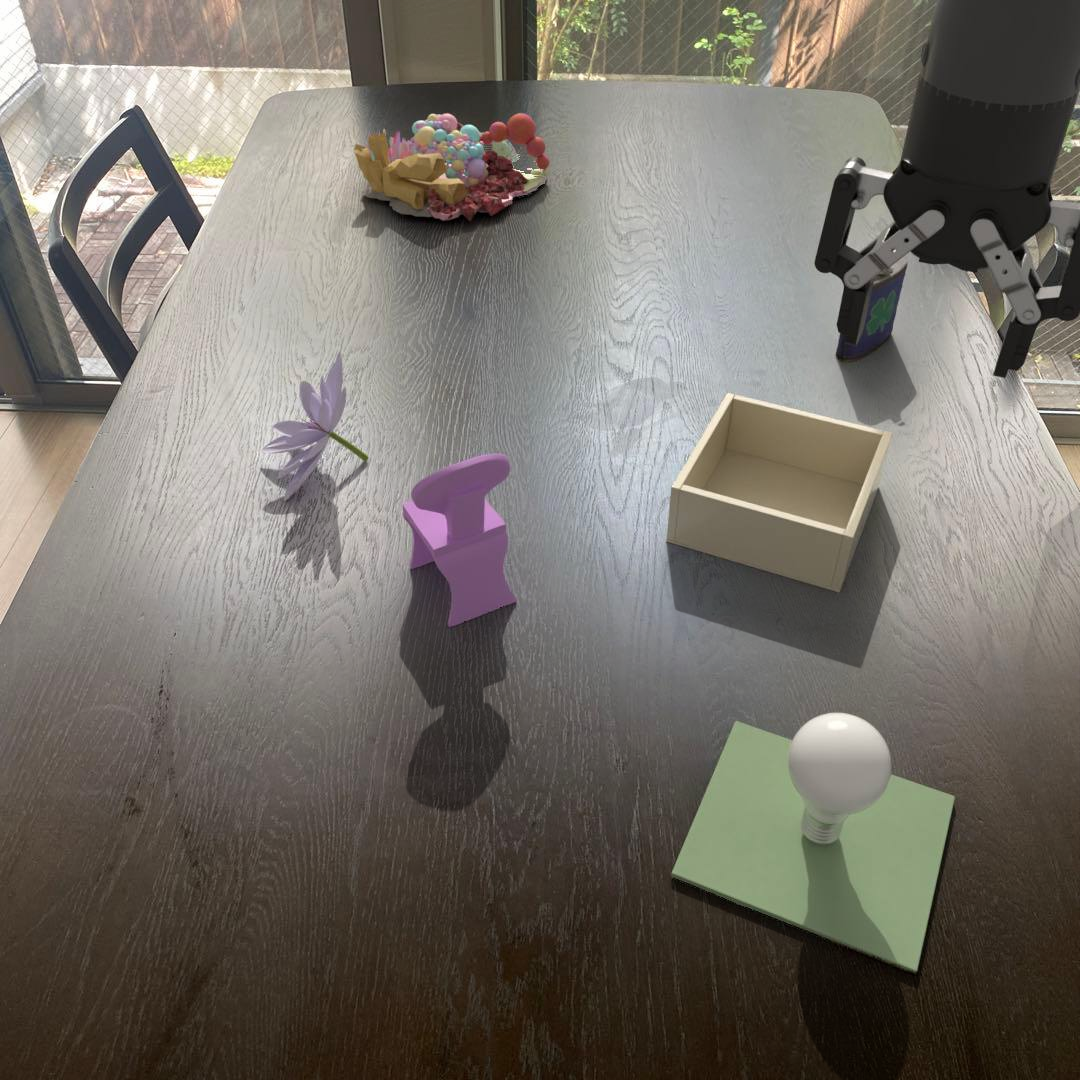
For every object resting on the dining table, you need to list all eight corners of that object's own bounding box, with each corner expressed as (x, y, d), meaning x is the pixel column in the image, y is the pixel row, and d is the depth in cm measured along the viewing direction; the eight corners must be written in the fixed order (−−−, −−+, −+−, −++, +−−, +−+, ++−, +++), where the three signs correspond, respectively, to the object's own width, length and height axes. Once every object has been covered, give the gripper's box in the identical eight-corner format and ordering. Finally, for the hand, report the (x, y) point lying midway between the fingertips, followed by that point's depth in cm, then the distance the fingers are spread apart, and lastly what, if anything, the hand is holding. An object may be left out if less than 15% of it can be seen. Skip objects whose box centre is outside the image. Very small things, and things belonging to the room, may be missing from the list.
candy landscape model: (474, 240, 140) (471, 170, 134) (330, 201, 149) (320, 135, 142) (568, 169, 156) (568, 104, 149) (433, 138, 165) (428, 76, 158)
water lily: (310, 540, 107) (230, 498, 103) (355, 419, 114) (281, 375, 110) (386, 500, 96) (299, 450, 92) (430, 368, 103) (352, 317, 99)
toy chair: (482, 536, 97) (473, 398, 87) (527, 597, 91) (524, 456, 81) (396, 567, 94) (377, 428, 84) (438, 632, 89) (422, 491, 78)
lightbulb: (764, 858, 72) (787, 759, 65) (780, 783, 77) (803, 681, 69) (861, 886, 71) (896, 787, 63) (871, 807, 75) (905, 706, 68)
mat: (953, 801, 76) (955, 796, 76) (915, 976, 67) (917, 971, 66) (734, 725, 81) (735, 720, 81) (670, 877, 72) (671, 873, 71)
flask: (877, 324, 123) (897, 237, 116) (899, 334, 122) (921, 247, 114) (829, 355, 119) (847, 267, 111) (851, 366, 117) (871, 277, 110)
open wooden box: (879, 486, 102) (893, 432, 98) (839, 592, 91) (853, 537, 87) (720, 445, 107) (727, 392, 103) (666, 541, 96) (670, 486, 92)
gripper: (1162, 66, 53) (1059, 349, 64) (871, 29, 58) (821, 300, 69) (1155, 119, 48) (1045, 417, 59) (838, 75, 53) (789, 359, 64)
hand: (925, 354), depth 64 cm, fingers open, 8 cm apart
